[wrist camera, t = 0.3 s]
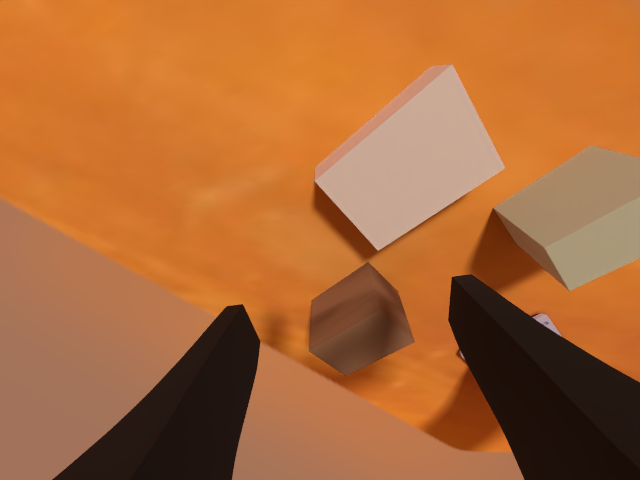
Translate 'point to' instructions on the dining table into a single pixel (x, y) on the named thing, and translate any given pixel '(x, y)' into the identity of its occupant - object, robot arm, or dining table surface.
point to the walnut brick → (358, 321)
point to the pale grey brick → (410, 158)
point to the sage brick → (579, 216)
